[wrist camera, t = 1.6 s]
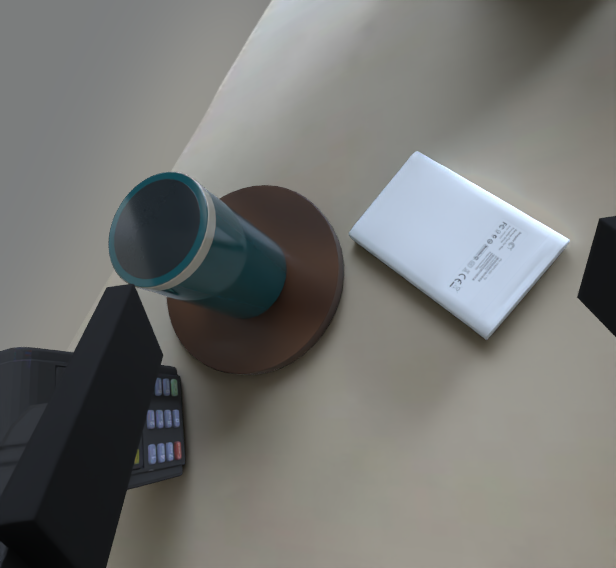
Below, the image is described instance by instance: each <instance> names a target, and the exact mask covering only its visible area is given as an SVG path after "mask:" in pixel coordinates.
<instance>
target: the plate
mask: <svg viewBox="0 0 616 568" xmlns="http://www.w3.org/2000/svg"><path fill="white" fill-rule="evenodd" d="M220 200H221V201H223V202H224V203H225V204H227V205H228V206H229V207H231V208H232V209H233V210H235V211H236V212H237V213H239V214H240V215H241V216H243V217H244V218H245V219H247V220H248V221H249V222H251V223H252V224H254V225H255V226H256V227H258V228H259V229H260V230H262V231H263V232H264V233H266V234H267V235H268V236H270V237H271V238H272V239H273V240H275V241H276V242H277V243H278V245H279V246H280V248H281V249H282V251H283V253H284V256H285V260H286V267H287V270H286V279H285V283H284V286H283V289H282V291H281V293H280V295H279V297H278V298H277V300H276V301H275V302H274V303H273V305H272V306H271V307H269V308H268V309H267V310H266V311H264V312H263V313H261V314H259V315H258V316H255V317H252V318H248V319H234V318H230V317H227V316H224V315H221V314H218V313H215V312H212V311H209V310H206V309H203V308H200V307H197V306H194V305H191V304H188V303H185V302H182V301H179V300H176V299H173V298H170V297H167V305H168V312H169V316H170V319H171V323H172V326H173V328H174V330H175V333H176V335H177V336H178V338H179V340H180V341H181V343H182V344H183V346H184V347H185V348H186V349H187V351H188V352H189V353H190V354H191V355H193V356H194V357H195V358H196V359H197V360H199V361H200V362H202V363H203V364H205V365H206V366H209V367H211V368H213V369H215V370H218V371H222V372H226V373H233V374H242V375H257V374H263V373H268V372H271V371H274V370H277V369H280V368H282V367H284V366H286V365H288V364H290V363H292V362H294V361H295V360H296V359H298V358H299V357H301V356H302V355H303V354H305V353H306V352H307V351H308V350H309V349H310V348H311V347H312V346H313V345H314V344H315V343H316V342H317V341H318V340H319V338H320V337H321V336H322V335H323V333H324V332H325V330H326V329H327V327H328V326H329V324H330V322H331V320H332V318H333V316H334V314H335V312H336V309H337V306H338V303H339V301H340V296H341V292H342V288H343V278H344V263H343V256H342V250H341V246H340V243H339V240H338V237H337V235H336V233H335V231H334V229H333V227H332V226H331V224H330V223H329V221H328V220H327V218H326V217H325V216H324V215H323V214H322V213H321V212H320V210H319V209H318V208H317V207H316V206H315V205H314V204H313V203H312V202H310V201H309V200H308V199H307V198H305V197H304V196H302V195H300V194H298V193H297V192H294V191H292V190H289V189H286V188H282V187H278V186H268V185H262V186H252V187H247V188H243V189H240V190H237V191H234V192H232V193H229V194H227V195H225V196H223V197H222V198H220Z"/></svg>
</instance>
